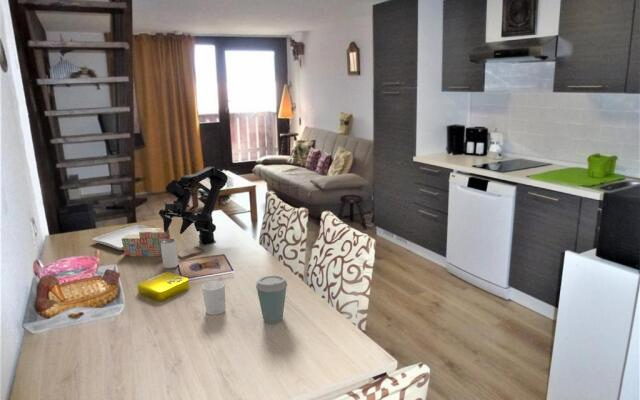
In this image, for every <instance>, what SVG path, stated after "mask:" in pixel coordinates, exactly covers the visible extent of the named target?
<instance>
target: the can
mask: <svg viewBox="0 0 640 400" xmlns="http://www.w3.org/2000/svg"><path fill="white" fill-rule="evenodd" d="M161 242H162V243H161V251H162V256H161V257H162V262H163V263H162V264H163V268H165V269H175V268H177V267H178V266H179V257H178V255H177V252H178V247H177V243H176V241H175V239H174V238H170V239H165V240H163V241H161ZM177 265H178V266H177Z"/></svg>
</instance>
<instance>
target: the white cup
mask: <svg viewBox="0 0 640 400" xmlns="http://www.w3.org/2000/svg"><path fill="white" fill-rule="evenodd" d="M201 290H202V296H203V297H202V298H203V302H204V306H205V311H206V313H207V315H209V316H218V315H221V314H223V313H225V311H226V283H225V282H224V281H223V280H209V281H206V282H205V283H203V284H202V285H201Z"/></svg>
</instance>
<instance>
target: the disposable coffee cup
mask: <svg viewBox="0 0 640 400" xmlns="http://www.w3.org/2000/svg"><path fill="white" fill-rule="evenodd" d="M287 287H288V281H287V279H286V277H284V276H282V275H275V274H273V275H265V276H262V277H260V278H259V279H258V280H257V281H256V283H255V289H256V291H257V295H258V296H257V297H258V300H259V306H260V310H261V315H262V319H263V322H265V323H266V324H271V325H272V324H277V323H280V322H282V321H283V318H284V309H285V303H286V302H285V301H286V294H287Z"/></svg>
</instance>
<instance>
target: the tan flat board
mask: <svg viewBox="0 0 640 400" xmlns="http://www.w3.org/2000/svg"><path fill="white" fill-rule="evenodd" d="M205 251H206V250H205V249H204V248H202V247H200V246H198V245H195V246H192V247H188V248H184V249H182V250H179V251H178V250H177V255H178V259H180V260H184V259H188V258H190V257H194V256H197V255H200V254H203V253H206V252H205Z"/></svg>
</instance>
